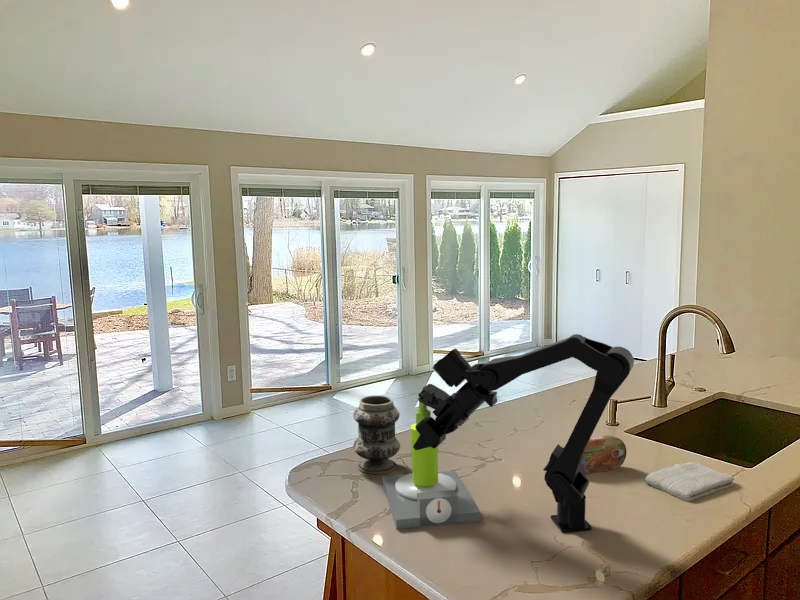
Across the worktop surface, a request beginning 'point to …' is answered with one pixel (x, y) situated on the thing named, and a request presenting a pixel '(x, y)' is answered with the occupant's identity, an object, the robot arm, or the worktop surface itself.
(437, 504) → the kitchen scale
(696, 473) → the washcloth
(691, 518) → the worktop surface
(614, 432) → the worktop surface
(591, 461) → the tin
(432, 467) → the soap dispenser
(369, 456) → the apothecary jar
